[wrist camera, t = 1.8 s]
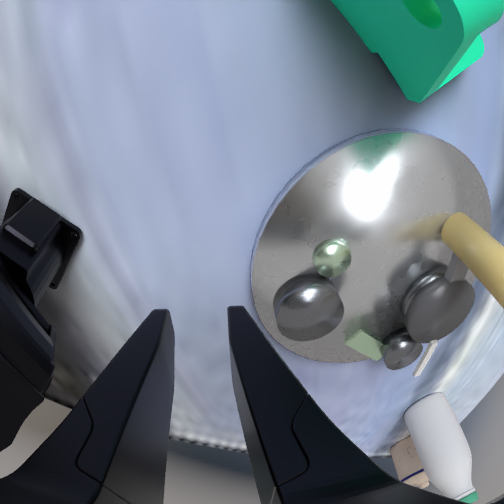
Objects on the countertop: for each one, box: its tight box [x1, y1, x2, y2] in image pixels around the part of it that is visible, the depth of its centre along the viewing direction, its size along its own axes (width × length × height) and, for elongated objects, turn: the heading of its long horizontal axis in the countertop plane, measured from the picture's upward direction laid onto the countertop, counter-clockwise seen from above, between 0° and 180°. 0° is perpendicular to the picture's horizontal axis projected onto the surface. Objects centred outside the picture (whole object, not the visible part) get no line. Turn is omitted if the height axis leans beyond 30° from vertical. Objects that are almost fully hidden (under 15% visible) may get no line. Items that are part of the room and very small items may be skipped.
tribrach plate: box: [250, 129, 491, 370], centre depth 23 cm, size 22×22×3 cm
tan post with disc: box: [404, 212, 504, 377], centre depth 21 cm, size 16×7×11 cm, turn 0°
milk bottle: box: [404, 393, 478, 504], centre depth 33 cm, size 8×8×20 cm
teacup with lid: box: [390, 436, 429, 489], centre depth 46 cm, size 12×9×12 cm
